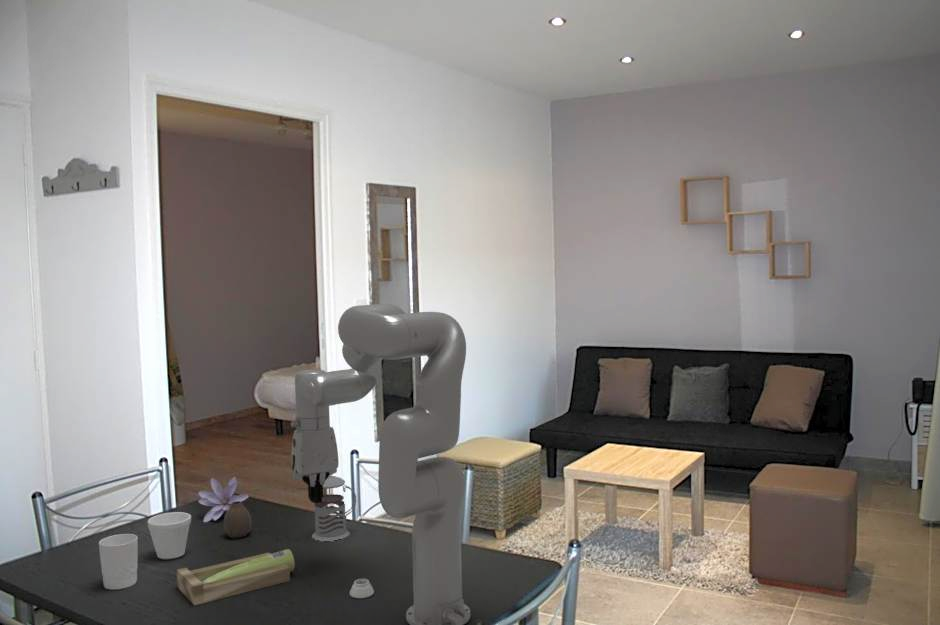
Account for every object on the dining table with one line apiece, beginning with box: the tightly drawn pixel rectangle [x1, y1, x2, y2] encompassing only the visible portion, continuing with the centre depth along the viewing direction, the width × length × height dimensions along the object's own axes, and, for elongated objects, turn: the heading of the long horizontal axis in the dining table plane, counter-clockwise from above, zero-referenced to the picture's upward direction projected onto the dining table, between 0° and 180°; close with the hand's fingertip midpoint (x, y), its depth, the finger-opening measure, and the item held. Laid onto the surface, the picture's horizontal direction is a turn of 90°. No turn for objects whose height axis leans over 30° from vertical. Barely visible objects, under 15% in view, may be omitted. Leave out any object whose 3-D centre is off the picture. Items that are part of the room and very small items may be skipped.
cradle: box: [176, 552, 291, 606], centre depth 180 cm, size 12×21×4 cm, turn 125°
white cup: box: [98, 533, 139, 590], centre depth 182 cm, size 8×8×10 cm
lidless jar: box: [349, 578, 375, 599], centre depth 173 cm, size 5×3×5 cm
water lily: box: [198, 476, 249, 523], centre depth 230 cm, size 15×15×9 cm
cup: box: [147, 511, 192, 561], centre depth 199 cm, size 10×10×9 cm
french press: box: [311, 475, 357, 542], centre depth 211 cm, size 10×12×25 cm
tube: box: [202, 548, 296, 583], centre depth 181 cm, size 6×5×20 cm
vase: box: [223, 501, 252, 539], centre depth 212 cm, size 7×7×9 cm
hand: (315, 501), depth 191 cm, fingers closed
